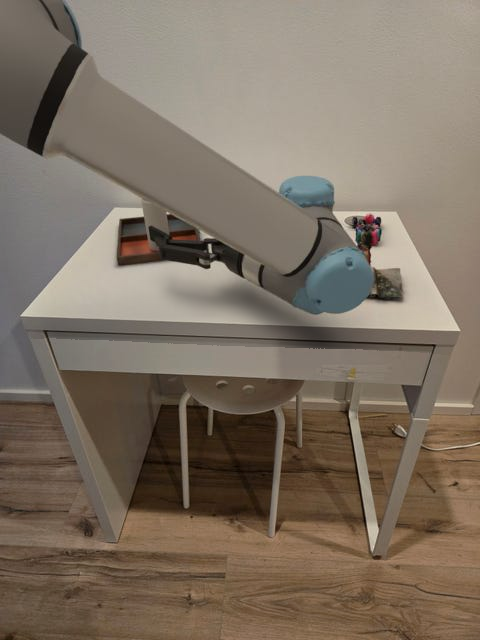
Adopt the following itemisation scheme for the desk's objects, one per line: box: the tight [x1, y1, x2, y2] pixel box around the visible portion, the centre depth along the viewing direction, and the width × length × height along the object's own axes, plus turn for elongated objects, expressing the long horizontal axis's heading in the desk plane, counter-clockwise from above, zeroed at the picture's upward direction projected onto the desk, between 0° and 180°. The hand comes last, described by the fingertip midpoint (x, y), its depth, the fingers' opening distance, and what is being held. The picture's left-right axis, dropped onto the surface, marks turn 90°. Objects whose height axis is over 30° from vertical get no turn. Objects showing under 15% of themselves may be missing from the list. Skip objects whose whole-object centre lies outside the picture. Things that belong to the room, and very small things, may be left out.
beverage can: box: [140, 198, 169, 252], centre depth 93 cm, size 5×5×12 cm
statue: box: [354, 212, 404, 301], centre depth 79 cm, size 11×9×15 cm
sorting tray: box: [116, 213, 201, 266], centre depth 100 cm, size 18×20×2 cm
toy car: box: [351, 216, 382, 228], centre depth 100 cm, size 12×6×4 cm, turn 177°
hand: (179, 221), depth 86 cm, fingers open, 13 cm apart
